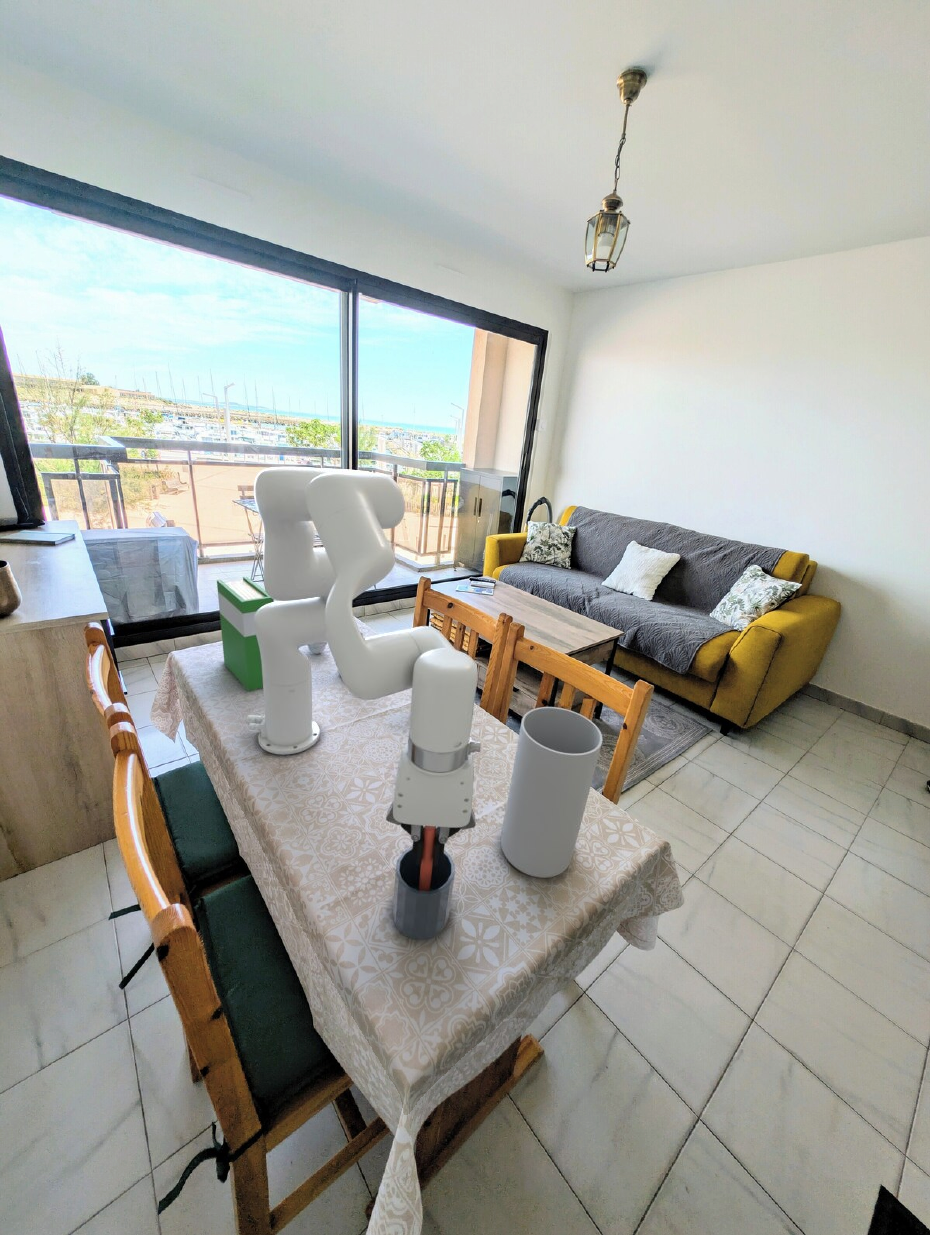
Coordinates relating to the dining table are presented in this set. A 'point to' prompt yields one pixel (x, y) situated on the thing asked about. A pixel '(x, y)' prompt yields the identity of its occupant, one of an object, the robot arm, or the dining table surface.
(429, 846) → the red rod
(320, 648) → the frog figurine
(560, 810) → the cylinder vase
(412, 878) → the glazed cup
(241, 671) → the hardback book
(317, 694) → the dining table surface
